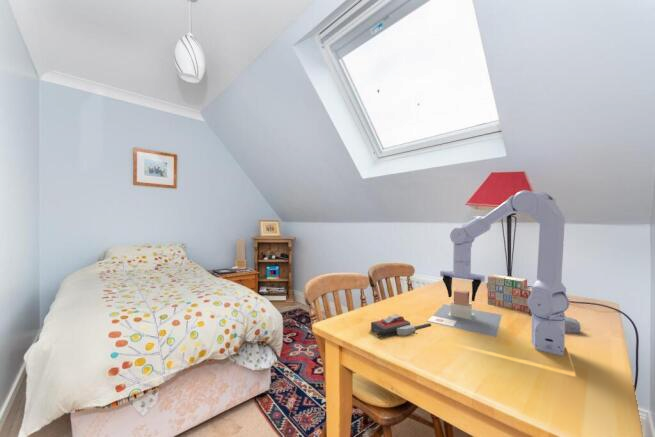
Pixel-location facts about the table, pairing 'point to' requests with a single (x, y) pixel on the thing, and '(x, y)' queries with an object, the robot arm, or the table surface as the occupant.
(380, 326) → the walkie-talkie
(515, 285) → the stack of blocks
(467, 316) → the cream base block
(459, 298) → the orange cube
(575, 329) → the stone block
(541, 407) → the table surface
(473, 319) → the board
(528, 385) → the table surface
